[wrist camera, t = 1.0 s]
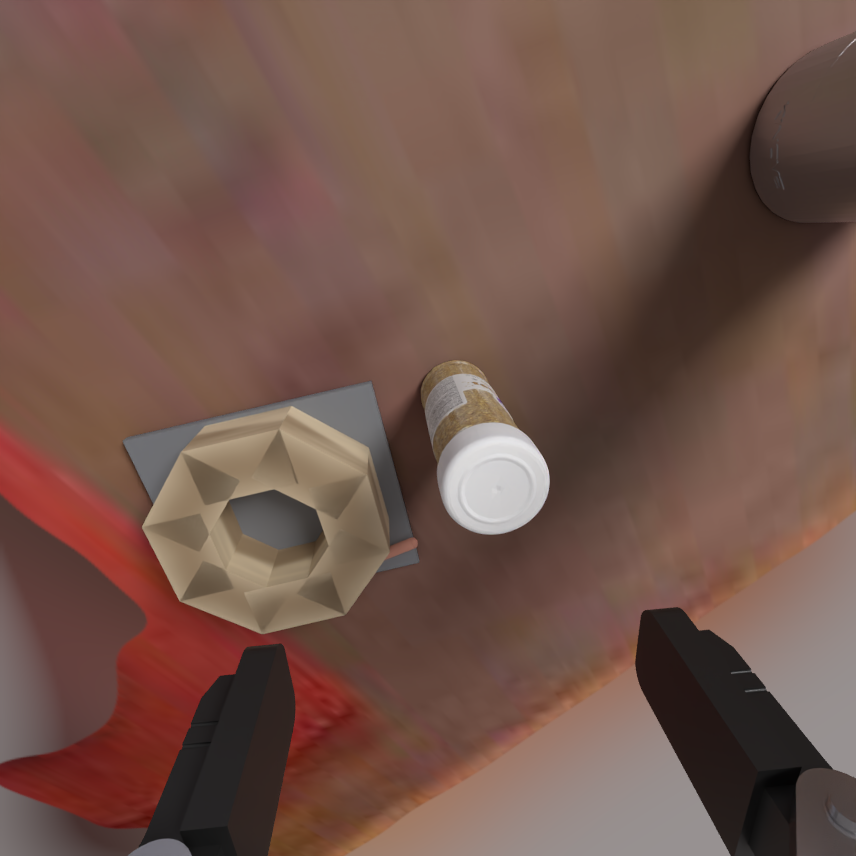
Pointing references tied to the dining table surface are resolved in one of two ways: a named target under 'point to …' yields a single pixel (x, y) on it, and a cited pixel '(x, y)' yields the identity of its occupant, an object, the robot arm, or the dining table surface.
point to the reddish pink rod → (402, 547)
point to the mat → (272, 510)
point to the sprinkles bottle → (481, 452)
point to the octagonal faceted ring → (251, 559)
